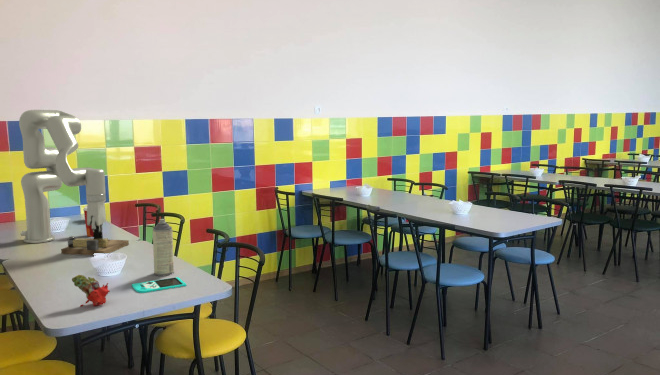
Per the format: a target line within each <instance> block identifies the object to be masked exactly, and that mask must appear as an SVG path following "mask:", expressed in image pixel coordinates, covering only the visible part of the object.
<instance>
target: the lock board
mask: <svg viewBox="0 0 660 375" xmlns="http://www.w3.org/2000/svg"><path fill="white" fill-rule="evenodd" d="M129 241H130V240H129V239H128V240H127V239H108V246H106V247H99V245H98V240H87V247H68V246H66V247H64V248H61V249H60V250H61V251H60V252H61V255H74V256H75V255H77V256H78V255H79V256H94V255H93V254H94V253H109V254H111V253H114V252H116V251H117V250H120V249H123V248H124V247H127V246H129V245H130V242H129ZM115 250H116V251H115ZM113 251H114V252H113ZM110 252H111V253H110Z"/></svg>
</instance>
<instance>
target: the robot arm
mask: <svg viewBox="0 0 660 375" xmlns="http://www.w3.org/2000/svg"><path fill="white" fill-rule="evenodd" d="M18 123H19V130H20V134H21V137H22V148H23V149H22V150H23V151H22V153H23V162H24V163H23V164H24V165H25V167H26V168H28V169H31V170H38V169H46V170H43V171H41V170H40V171H39V170H38V171H32V172H30V171H29V172H27V173H25V174H24V175H23V176H22V177H21V180H20V185H21V189H22V192H23V196H24V205H25V220H26V222H25V223H26V230H22V231H21V232H20V234H19V235H20V236H23V237H24V238H23V243H27V244H41V243H47V242H52V241H54V240H55V239H56V238H55V235H52V234H51V232H52V230H51V220H50V219H51V218H50V203H49V199H48V197H47V196H46V195H45V192H53V191H58V190H60V189H61V188H62V186H63V185H65V186H66V187H72V188H73V187H81V186H85V194H86V195H85V197H86V199H85V200H86V203H87V205H86V206H87V225H88V226H90V225H92V229H93V235H94V237H93V238H104V237H103V225H104V224H105V223H106V220H107V219H106V217H107V216H106V215H107V214H106V204H105V202H106V201H107V196H106V195H107V194H106V173H105V170H104V169H102V168H93V167H75V168H74V167H73V168H71V166H70V164H69V162H68V159H67V158H68V156H69V155H72V154H73V153H74V152H76V151H77V150H78V149H79V142H78V141H77V138H76V136H75V135H79V133H80V132H82V124H81V121H80V119H78V117H76V116H75V115H72V114H71V113H67V112H65V111H62V110H57V109H30V110H26V111H24V112H23V113H21V115H20V117H19V120H18ZM41 130H47V132H48V134H49V135H50V137H51V140H52V141H53V143H54V146H55V147H52V146H47V147H46V146H45V138H44V136H43V134H42V132H41Z"/></svg>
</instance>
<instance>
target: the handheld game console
mask: <svg viewBox="0 0 660 375" xmlns="http://www.w3.org/2000/svg"><path fill="white" fill-rule="evenodd" d="M181 286H184V287H187V283H186V282H185V281H183V280H182V279H181V278H180V277H179V276H176V277H170V278H163V279H157V280H155V279H154V280H150V281H149V280H148V281H143V282H137V283H132V284H131V287H132V288H133V289H134V290H135V292H136V293H139V294H144V293H152V292H151V291H153V292H157V291H156V290H159V291H163V289H165V290H170V289H169V288H172V289H176V288H175V287H178V288H182V287H181Z"/></svg>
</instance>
